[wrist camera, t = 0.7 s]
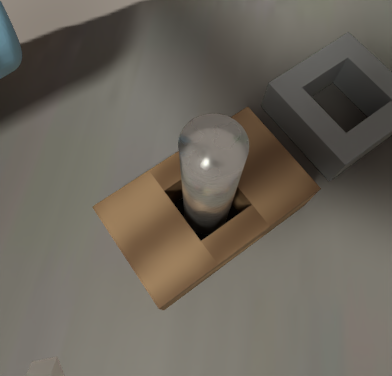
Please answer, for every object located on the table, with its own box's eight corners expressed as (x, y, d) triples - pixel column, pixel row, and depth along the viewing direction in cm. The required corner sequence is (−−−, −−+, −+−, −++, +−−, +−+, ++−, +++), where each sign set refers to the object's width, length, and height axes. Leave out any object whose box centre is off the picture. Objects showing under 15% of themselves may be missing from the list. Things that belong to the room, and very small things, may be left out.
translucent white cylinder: (176, 209, 43) (164, 137, 26) (210, 185, 44) (220, 101, 27) (201, 243, 41) (206, 191, 24) (235, 218, 42) (263, 151, 25)
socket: (261, 106, 47) (268, 82, 43) (333, 58, 50) (348, 31, 45) (329, 181, 44) (345, 165, 39) (403, 126, 46) (427, 104, 42)
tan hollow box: (105, 221, 42) (92, 206, 36) (241, 132, 46) (247, 106, 40) (164, 310, 39) (158, 308, 33) (304, 205, 43) (320, 188, 37)
